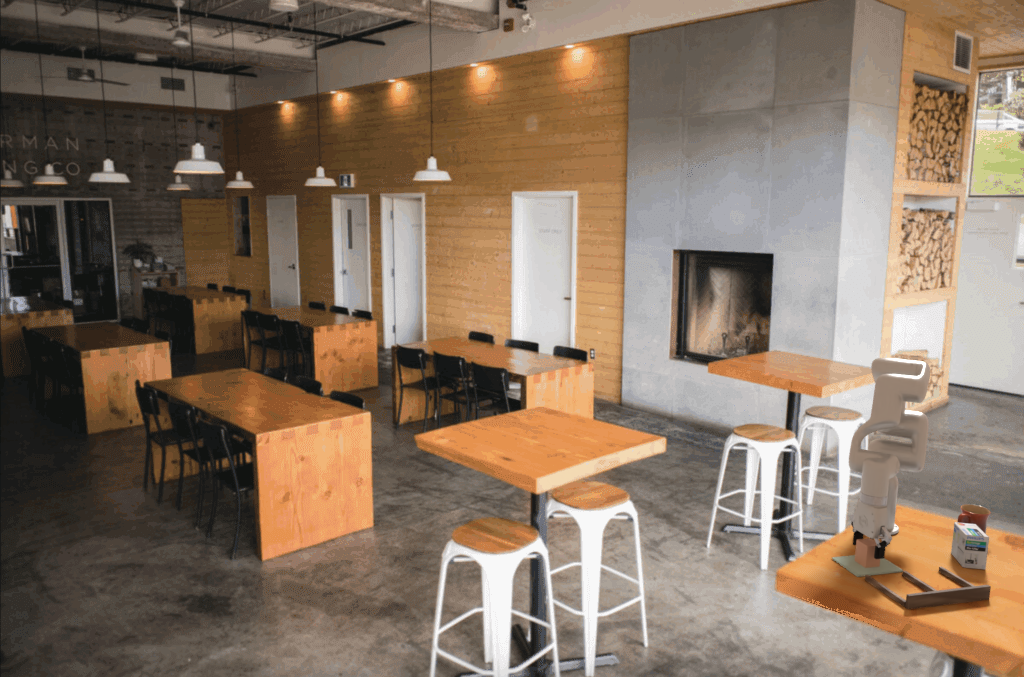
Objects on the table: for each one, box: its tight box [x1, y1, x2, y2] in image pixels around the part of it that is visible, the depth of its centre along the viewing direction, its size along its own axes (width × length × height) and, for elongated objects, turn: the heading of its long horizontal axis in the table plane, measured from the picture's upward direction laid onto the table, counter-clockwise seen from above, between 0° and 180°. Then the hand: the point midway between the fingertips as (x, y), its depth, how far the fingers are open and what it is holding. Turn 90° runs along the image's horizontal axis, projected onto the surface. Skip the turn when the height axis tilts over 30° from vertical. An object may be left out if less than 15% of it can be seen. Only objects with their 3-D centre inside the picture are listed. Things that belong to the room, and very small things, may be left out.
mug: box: [956, 504, 992, 535], centre depth 254 cm, size 12×9×10 cm
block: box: [854, 537, 880, 568], centre depth 234 cm, size 5×5×7 cm
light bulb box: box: [950, 521, 990, 570], centre depth 237 cm, size 11×7×11 cm, turn 169°
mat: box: [831, 554, 904, 578], centre depth 234 cm, size 12×16×1 cm
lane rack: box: [864, 566, 992, 611], centre depth 219 cm, size 18×27×4 cm, turn 103°
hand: (868, 551), depth 233 cm, fingers open, 9 cm apart
